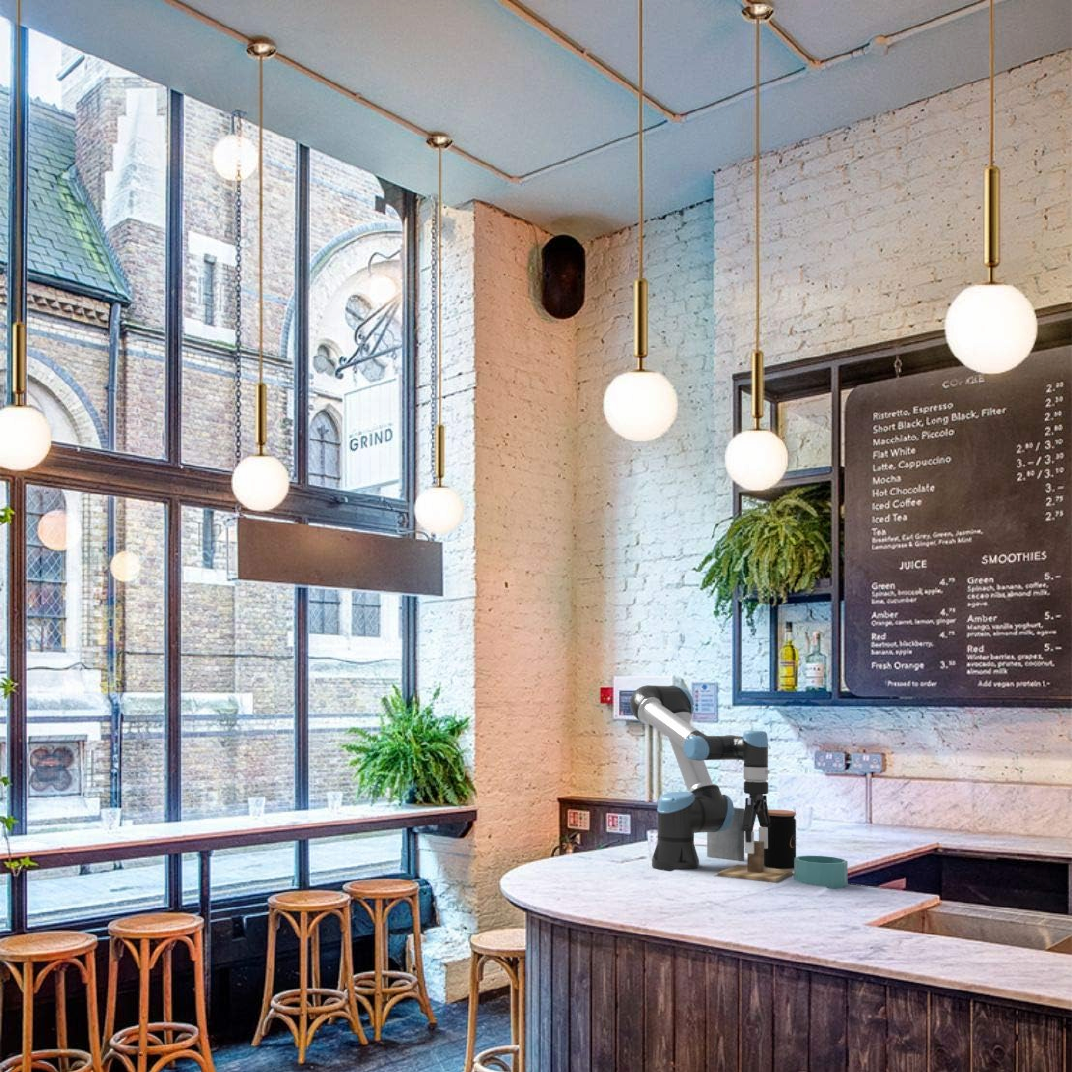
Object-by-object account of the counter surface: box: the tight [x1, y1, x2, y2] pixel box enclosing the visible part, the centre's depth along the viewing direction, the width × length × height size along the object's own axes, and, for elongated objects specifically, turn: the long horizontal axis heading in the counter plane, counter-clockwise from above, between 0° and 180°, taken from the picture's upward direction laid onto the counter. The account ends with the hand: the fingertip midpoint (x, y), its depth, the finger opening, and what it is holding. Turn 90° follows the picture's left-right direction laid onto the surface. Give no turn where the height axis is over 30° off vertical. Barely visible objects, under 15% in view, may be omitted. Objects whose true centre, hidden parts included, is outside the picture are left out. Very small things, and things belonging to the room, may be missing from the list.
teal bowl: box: [793, 855, 849, 889], centre depth 348 cm, size 15×15×7 cm
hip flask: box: [706, 806, 745, 862], centre depth 391 cm, size 16×4×20 cm, turn 37°
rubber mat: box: [714, 872, 795, 884], centre depth 357 cm, size 20×20×1 cm
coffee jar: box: [764, 809, 797, 870], centre depth 376 cm, size 11×11×18 cm
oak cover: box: [717, 840, 794, 883], centre depth 357 cm, size 18×18×10 cm
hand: (756, 850), depth 357 cm, fingers open, 13 cm apart
